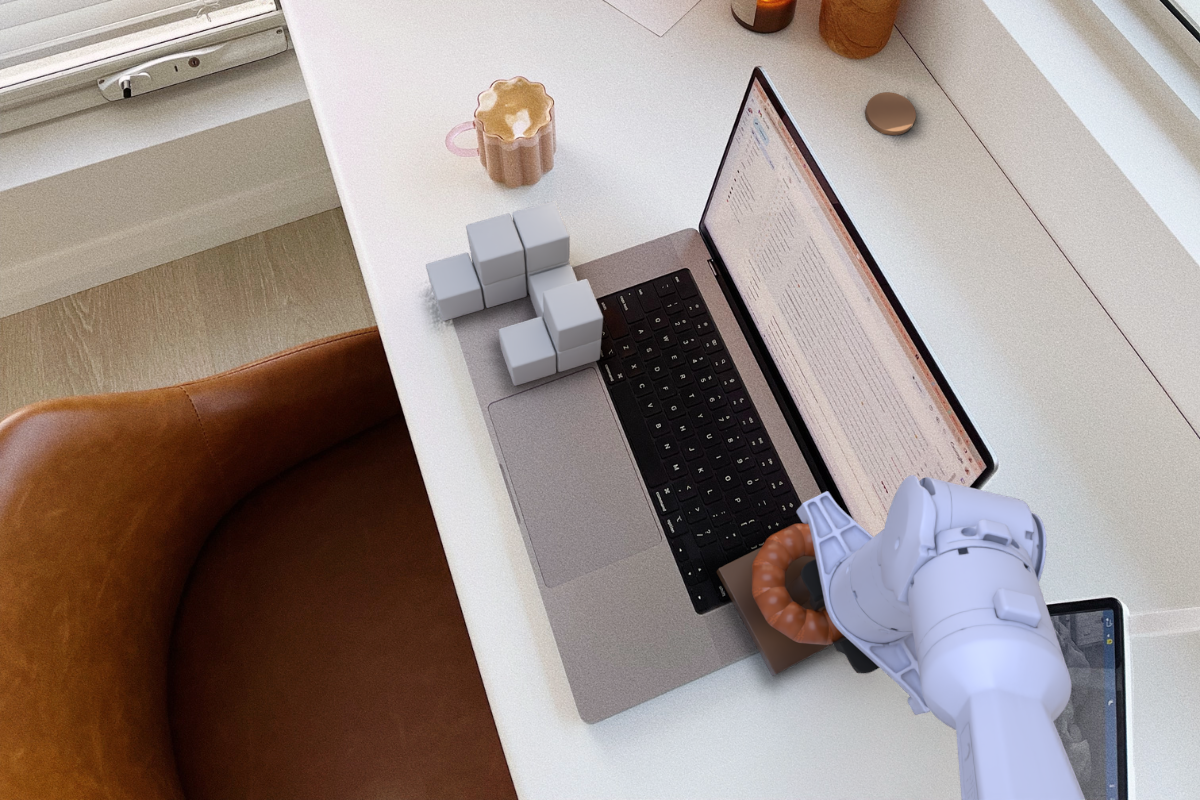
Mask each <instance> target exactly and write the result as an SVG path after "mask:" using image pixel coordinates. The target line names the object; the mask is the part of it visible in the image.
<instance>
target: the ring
mask: <svg viewBox="0 0 1200 800" xmlns="http://www.w3.org/2000/svg"><path fill="white" fill-rule="evenodd" d="M761 547H762V548H761ZM761 547H760V548H761V549H760V551H759V553H758V554H757V556H756V558H755V559H754V561H753V564H752V594H753V597H754V599H755V601H756V603H757V605H758V607H759V609H760V610H761V612H762V614H763V616H764V618H765V619H766V621H767V622H768V624H769V625H770V626H772V627H773V628H775V629H776V630H778V631H779V632H781V633H782V634H784V635H785V636H787V637H788V638H790V639H792V640H793V641H795V642H798V643H807V644H821V645H829V644H832V643H833V642H835V641H837V640H839V639H841V638H843V637H845V636H844V635H843V634H842V633H841V632H840V631H839V630H838V629H837V628H836V626H835V625H834V624H833V622H832V620H831V619H830V617H829V615H828V612H827V609H826V608H824V609H822V610H815V611H814V610H809V609H805V608H803V607H802V606H800V605H799V604H797V603H796V602H794V601H793V600H792V598H791V596H790V595H789V593H788V591H787V589H786V588H785V572H786V571H787V569H788V567H789V566H790V564H791V562H793V561H795V560H797V559H799V558H800V557H802V556H810V557H816V556H815V551H814V546H813V541H812V536H811V531H810V528H809V524H805V523H793V524H791V525H789V526H787V527H785V528H783V529H781V530H779V531H777V532H775V533H772V534H771V535H770V536H768V537H767V538H766V539H765V541H764V542H763V544H762V546H761Z"/></svg>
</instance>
